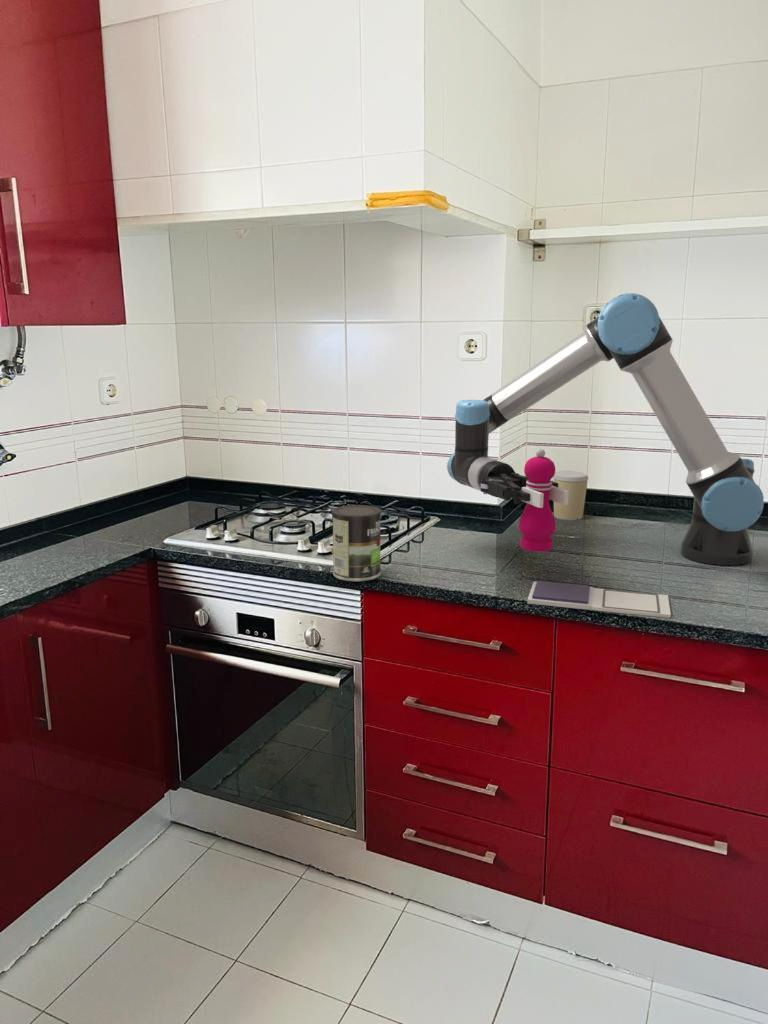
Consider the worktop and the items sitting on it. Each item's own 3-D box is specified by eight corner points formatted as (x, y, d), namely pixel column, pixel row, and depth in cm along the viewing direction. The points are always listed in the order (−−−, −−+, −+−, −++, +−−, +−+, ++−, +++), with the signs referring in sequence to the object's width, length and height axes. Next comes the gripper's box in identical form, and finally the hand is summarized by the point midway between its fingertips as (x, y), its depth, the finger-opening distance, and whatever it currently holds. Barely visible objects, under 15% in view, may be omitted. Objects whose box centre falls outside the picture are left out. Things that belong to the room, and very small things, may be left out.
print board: (667, 598, 154) (667, 594, 154) (670, 618, 144) (670, 614, 144) (593, 590, 158) (594, 587, 158) (591, 610, 148) (591, 606, 147)
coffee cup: (575, 511, 222) (577, 469, 219) (592, 519, 213) (594, 476, 210) (545, 513, 220) (547, 471, 217) (560, 521, 211) (563, 478, 208)
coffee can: (388, 569, 171) (388, 506, 168) (369, 584, 162) (369, 518, 158) (344, 564, 175) (344, 502, 171) (324, 578, 165) (323, 513, 162)
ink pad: (593, 590, 158) (594, 584, 157) (591, 610, 148) (592, 603, 147) (533, 585, 161) (533, 579, 161) (527, 603, 151) (527, 597, 151)
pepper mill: (527, 553, 153) (531, 452, 148) (511, 544, 160) (515, 446, 155) (561, 551, 155) (566, 450, 150) (544, 541, 162) (549, 445, 157)
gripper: (527, 490, 175) (592, 514, 154) (455, 497, 168) (512, 523, 148) (528, 457, 173) (594, 476, 152) (455, 463, 167) (514, 484, 146)
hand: (554, 499), depth 150 cm, fingers closed on pepper mill, 5 cm apart
